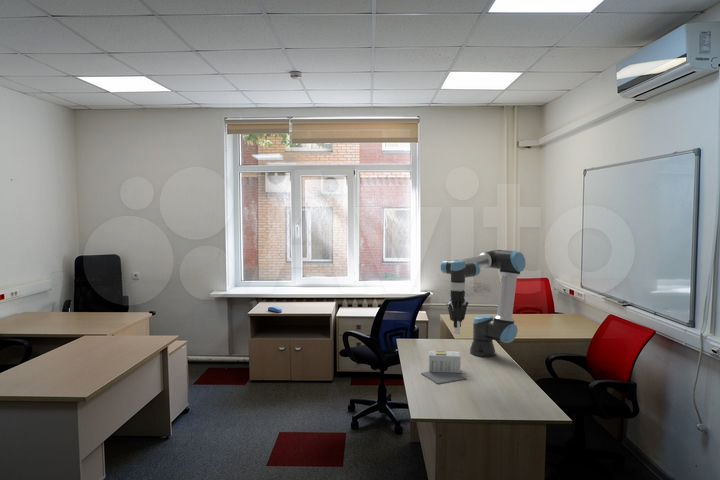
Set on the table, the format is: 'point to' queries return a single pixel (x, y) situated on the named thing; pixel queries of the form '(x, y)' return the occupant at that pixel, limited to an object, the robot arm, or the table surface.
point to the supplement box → (444, 361)
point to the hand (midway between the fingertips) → (457, 333)
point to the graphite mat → (443, 377)
